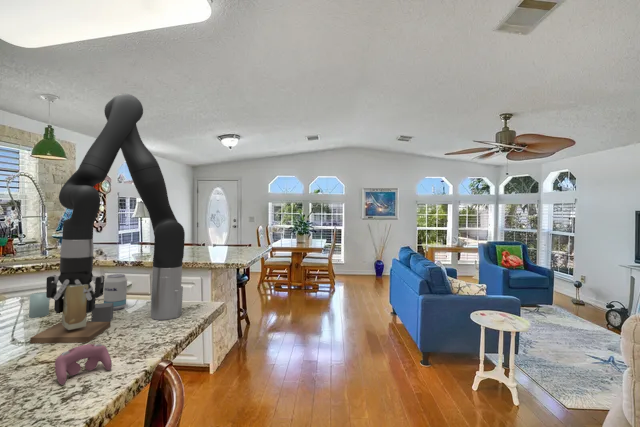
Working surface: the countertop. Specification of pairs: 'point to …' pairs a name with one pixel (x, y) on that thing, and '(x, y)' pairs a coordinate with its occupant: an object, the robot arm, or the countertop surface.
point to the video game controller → (90, 351)
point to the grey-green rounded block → (39, 305)
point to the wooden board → (70, 333)
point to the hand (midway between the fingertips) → (74, 312)
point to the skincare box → (74, 307)
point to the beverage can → (115, 290)
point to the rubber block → (102, 312)
